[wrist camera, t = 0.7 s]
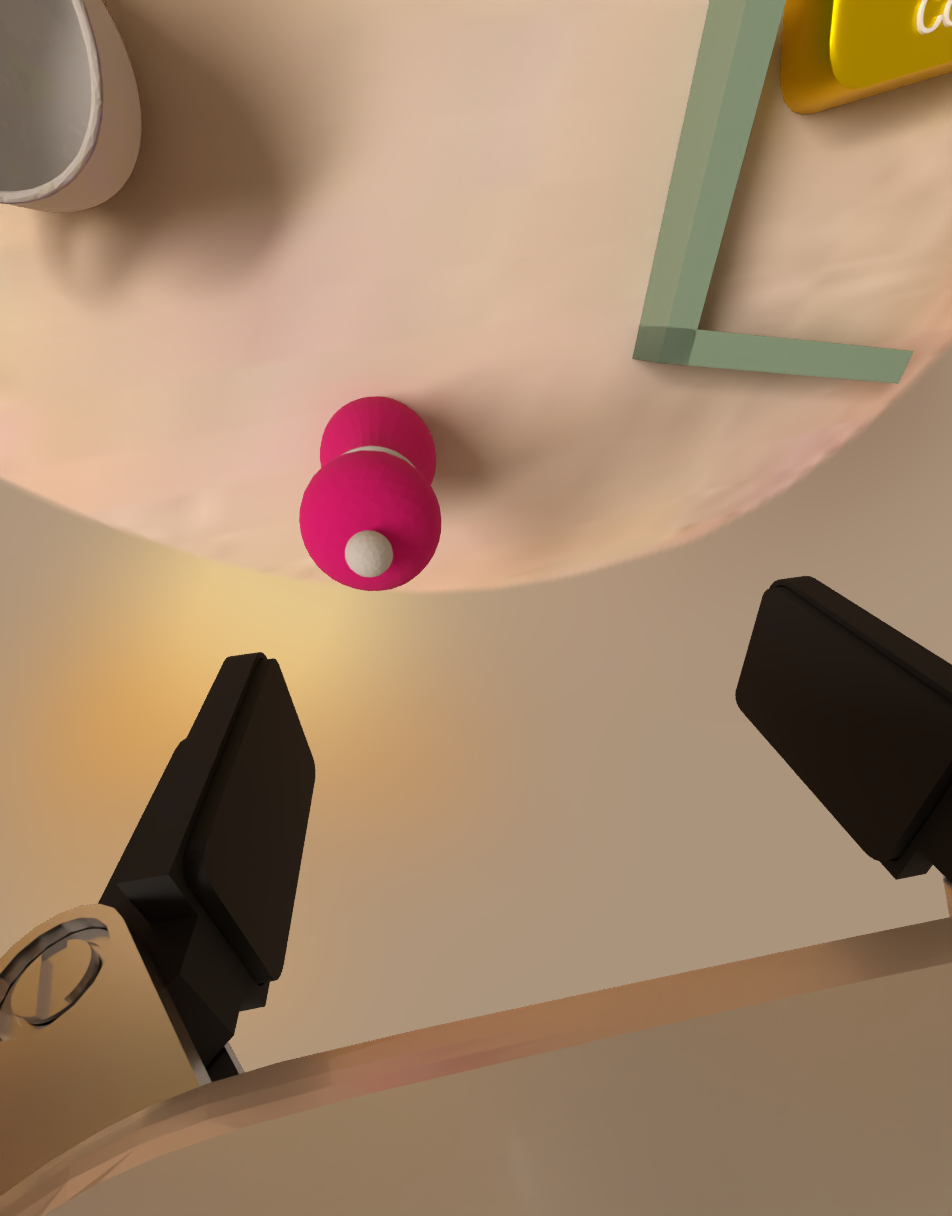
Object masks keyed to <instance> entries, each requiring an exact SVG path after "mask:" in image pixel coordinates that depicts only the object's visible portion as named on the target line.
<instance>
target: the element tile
mask: <svg viewBox="0 0 952 1216" xmlns="http://www.w3.org/2000/svg"><path fill="white" fill-rule="evenodd" d="M950 72H952V0H786V3H785V6H784V18H783V33H782V49H781V65H780V83H781V90H782V94H783V98H784V102H785V103H786V104H787V106H788V107H789V108H790V109H791V111H793V112H797V113H800V114H812V113H816V112H820V111H823V110H826V109H830V108H833V107H836V106H840V105H843V104H846V103H850V102H853V101H856V100H860V99H863V98H866V97H870V96H873V95H876V94H880V93H883V92H886V91H890V90H893V89H896V88H900V87H903V86H906V85H910V84H913V83H916V82H920V81H923V80H926V79H930V78H933V77H936V76H940V75H943V74H946V73H950Z"/></svg>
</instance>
